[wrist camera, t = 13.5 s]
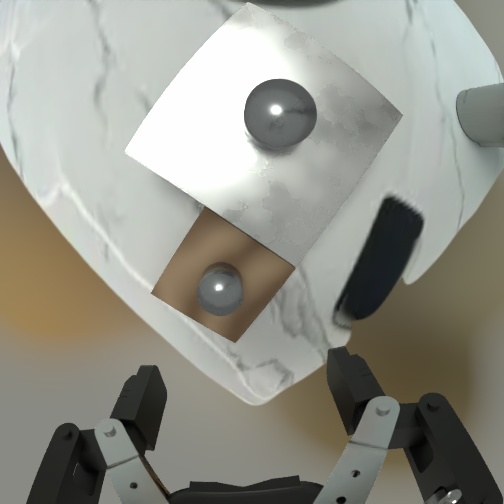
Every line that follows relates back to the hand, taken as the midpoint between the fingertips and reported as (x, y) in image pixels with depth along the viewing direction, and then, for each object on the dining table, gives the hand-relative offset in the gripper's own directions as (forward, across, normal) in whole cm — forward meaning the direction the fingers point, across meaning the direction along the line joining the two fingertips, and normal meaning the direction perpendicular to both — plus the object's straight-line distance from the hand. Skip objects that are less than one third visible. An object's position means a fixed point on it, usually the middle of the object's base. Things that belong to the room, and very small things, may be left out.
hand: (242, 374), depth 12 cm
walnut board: (+23, +3, +4) cm, 23 cm away
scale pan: (+16, -4, -13) cm, 21 cm away
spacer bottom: (+13, -4, -13) cm, 19 cm away
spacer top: (+21, +3, +4) cm, 22 cm away
